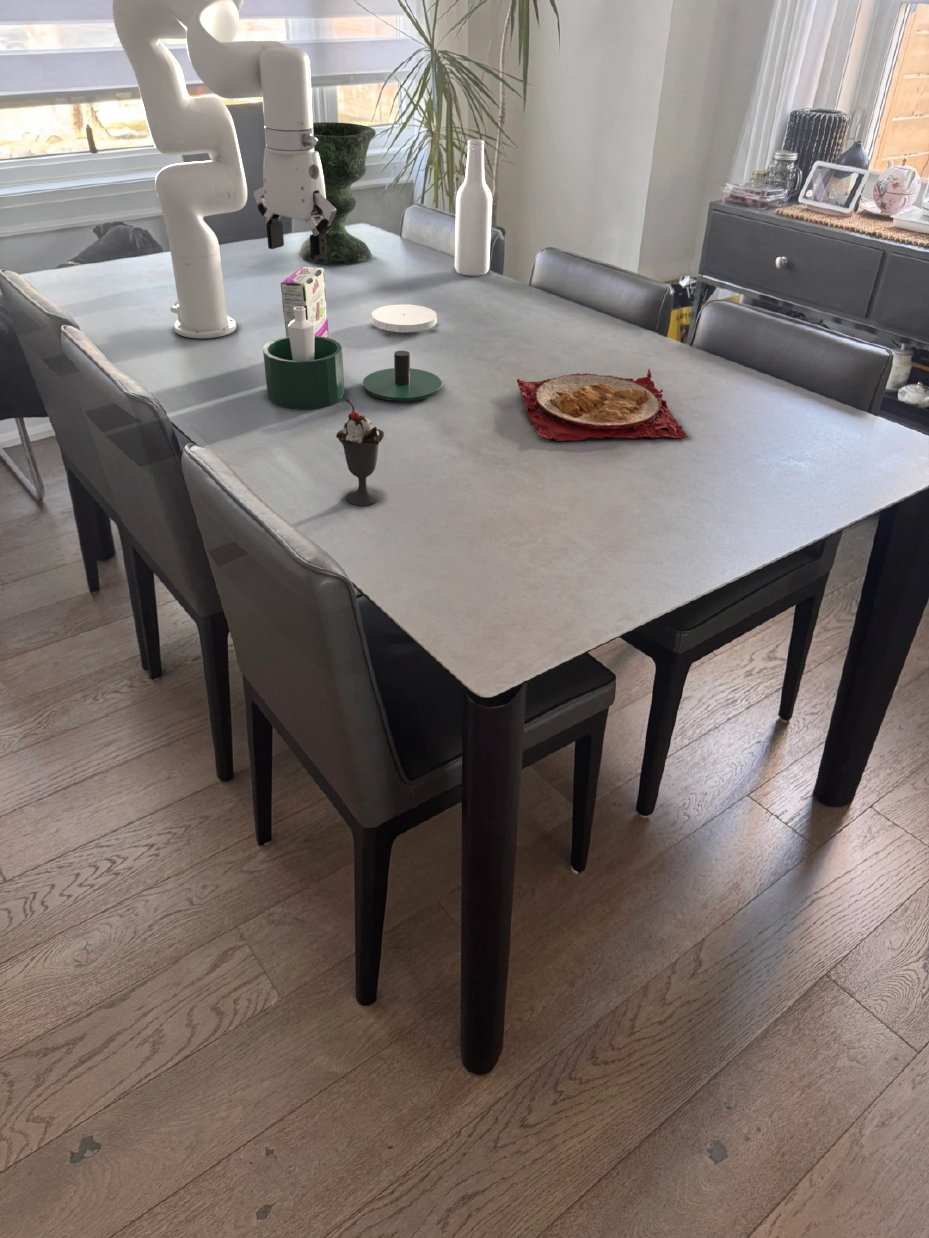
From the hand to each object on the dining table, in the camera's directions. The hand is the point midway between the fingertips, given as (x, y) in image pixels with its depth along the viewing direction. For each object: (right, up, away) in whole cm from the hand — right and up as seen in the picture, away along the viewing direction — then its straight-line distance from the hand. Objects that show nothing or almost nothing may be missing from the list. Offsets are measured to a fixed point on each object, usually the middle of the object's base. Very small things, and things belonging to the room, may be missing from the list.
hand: (297, 253), depth 154 cm
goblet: (-6, +34, +87) cm, 94 cm away
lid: (+17, -19, +15) cm, 29 cm away
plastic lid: (+15, +1, +44) cm, 46 cm away
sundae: (+13, -44, -19) cm, 50 cm away
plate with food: (+52, -25, +9) cm, 58 cm away
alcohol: (+30, +27, +79) cm, 89 cm away
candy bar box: (-2, -11, +26) cm, 28 cm away
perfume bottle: (-1, -21, +11) cm, 24 cm away
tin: (-1, -21, +12) cm, 24 cm away
